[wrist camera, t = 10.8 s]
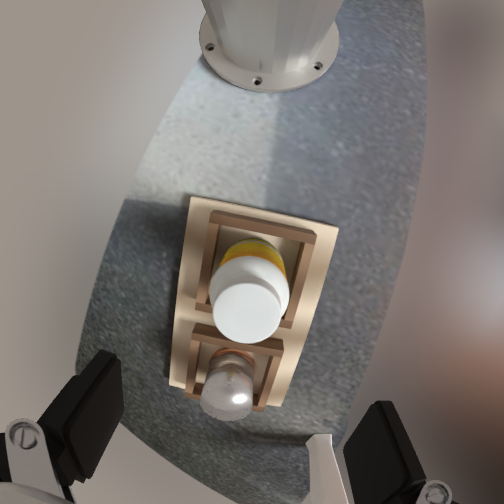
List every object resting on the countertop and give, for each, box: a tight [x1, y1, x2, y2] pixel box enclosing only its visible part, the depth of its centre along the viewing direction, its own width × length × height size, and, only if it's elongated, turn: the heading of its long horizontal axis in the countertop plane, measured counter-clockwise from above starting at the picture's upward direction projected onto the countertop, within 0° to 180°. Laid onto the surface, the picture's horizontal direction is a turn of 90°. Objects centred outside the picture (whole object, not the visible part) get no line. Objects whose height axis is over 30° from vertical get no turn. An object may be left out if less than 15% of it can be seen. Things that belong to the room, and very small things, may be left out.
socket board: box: [169, 196, 339, 412], centre depth 27 cm, size 21×13×3 cm, turn 168°
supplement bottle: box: [209, 237, 289, 343], centre depth 21 cm, size 5×5×10 cm
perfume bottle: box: [305, 434, 349, 504], centre depth 26 cm, size 5×4×15 cm
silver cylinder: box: [200, 347, 255, 421], centre depth 26 cm, size 5×5×6 cm
